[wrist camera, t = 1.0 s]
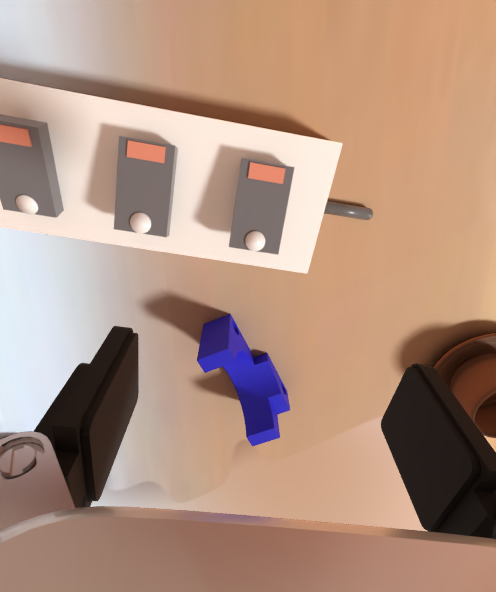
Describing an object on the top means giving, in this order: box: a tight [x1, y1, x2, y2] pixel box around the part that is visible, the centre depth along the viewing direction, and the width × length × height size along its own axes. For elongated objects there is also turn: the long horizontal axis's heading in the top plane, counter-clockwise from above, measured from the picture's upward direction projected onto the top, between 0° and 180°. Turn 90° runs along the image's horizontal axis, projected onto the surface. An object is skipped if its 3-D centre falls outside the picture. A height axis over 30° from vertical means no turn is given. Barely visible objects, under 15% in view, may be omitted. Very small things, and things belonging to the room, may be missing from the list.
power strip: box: [0, 78, 373, 273], centre depth 26 cm, size 10×31×4 cm, turn 80°
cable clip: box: [197, 314, 290, 446], centre depth 34 cm, size 12×4×6 cm, turn 24°
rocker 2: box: [114, 136, 178, 237], centre depth 23 cm, size 6×4×1 cm, turn 170°
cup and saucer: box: [434, 333, 496, 438], centre depth 35 cm, size 12×12×6 cm
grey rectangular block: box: [0, 114, 64, 218], centre depth 23 cm, size 6×4×1 cm, turn 171°
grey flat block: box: [229, 158, 294, 255], centre depth 24 cm, size 6×4×1 cm, turn 170°
